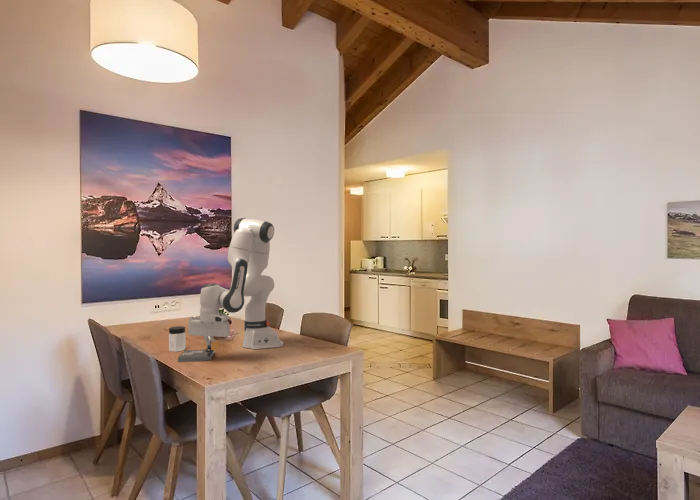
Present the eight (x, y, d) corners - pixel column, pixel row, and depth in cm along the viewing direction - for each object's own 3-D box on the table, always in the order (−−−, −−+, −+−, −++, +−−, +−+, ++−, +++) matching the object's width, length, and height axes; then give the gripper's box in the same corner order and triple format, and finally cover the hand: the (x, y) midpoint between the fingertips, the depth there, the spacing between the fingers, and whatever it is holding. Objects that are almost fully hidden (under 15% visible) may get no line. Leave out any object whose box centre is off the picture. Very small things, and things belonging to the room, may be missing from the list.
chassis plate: (214, 352, 230) (214, 342, 230) (210, 360, 215) (210, 348, 215) (184, 354, 227) (184, 343, 227) (178, 361, 212) (178, 350, 212)
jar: (165, 351, 234) (164, 328, 234) (175, 347, 242) (175, 325, 242) (179, 352, 231) (179, 329, 231) (189, 348, 239) (189, 326, 239)
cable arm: (206, 342, 228) (206, 335, 228) (212, 342, 229) (212, 334, 229) (211, 350, 213) (211, 342, 212) (218, 349, 214) (217, 341, 214)
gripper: (185, 317, 214) (185, 345, 214) (226, 318, 212) (226, 347, 212) (191, 315, 220) (191, 342, 220) (231, 316, 218) (231, 344, 219)
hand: (208, 344), depth 216 cm, fingers closed
